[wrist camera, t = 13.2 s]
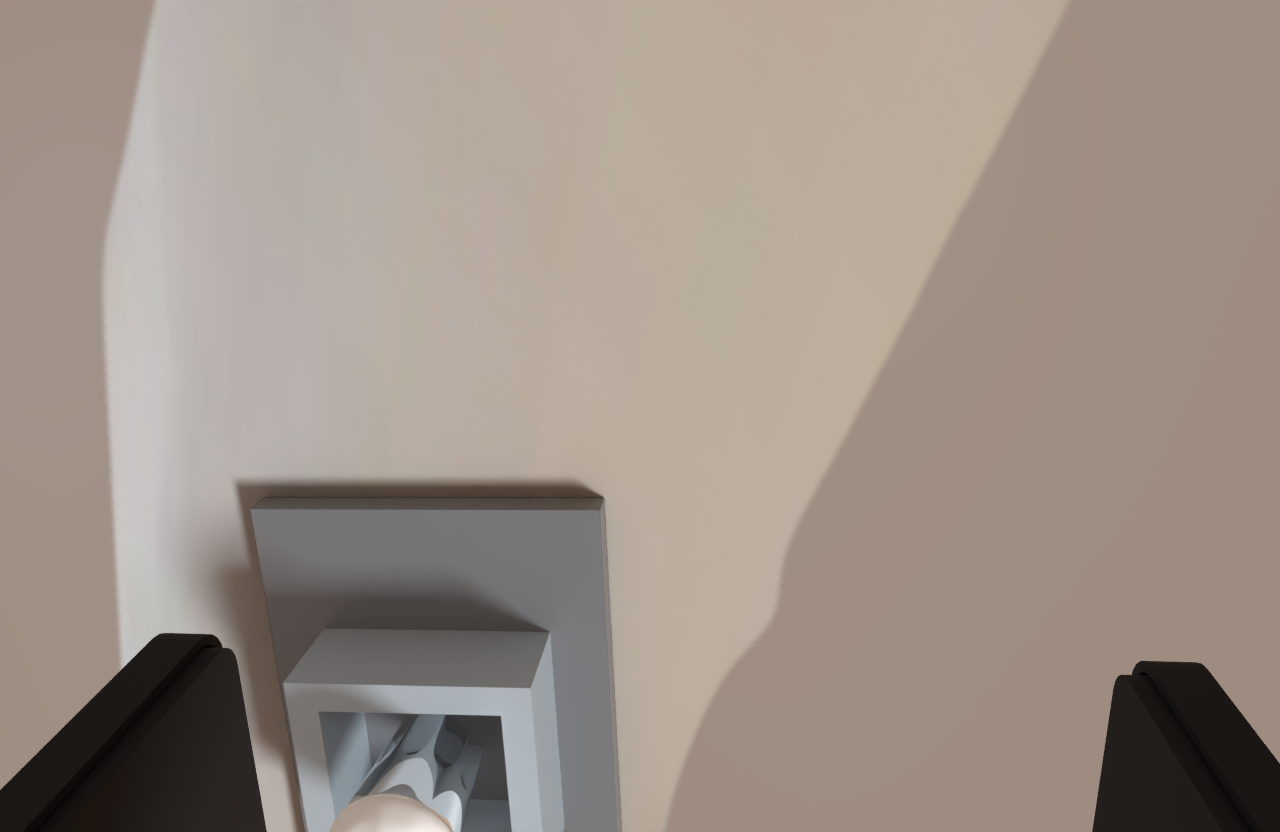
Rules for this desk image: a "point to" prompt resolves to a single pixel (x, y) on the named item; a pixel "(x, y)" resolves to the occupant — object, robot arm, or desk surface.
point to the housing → (447, 646)
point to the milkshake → (420, 777)
